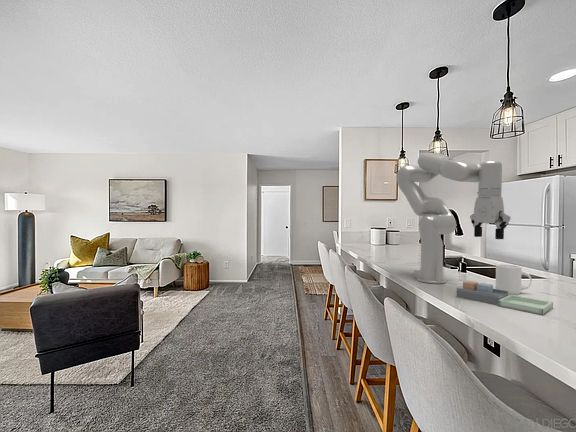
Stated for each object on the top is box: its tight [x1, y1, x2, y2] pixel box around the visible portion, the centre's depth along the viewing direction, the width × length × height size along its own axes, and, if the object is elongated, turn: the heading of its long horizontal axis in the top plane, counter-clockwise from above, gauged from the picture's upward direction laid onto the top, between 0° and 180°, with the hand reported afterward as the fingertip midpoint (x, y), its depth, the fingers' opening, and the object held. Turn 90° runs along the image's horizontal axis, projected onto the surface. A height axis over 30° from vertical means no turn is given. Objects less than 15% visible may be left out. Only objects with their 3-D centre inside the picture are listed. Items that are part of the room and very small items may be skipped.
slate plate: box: [456, 287, 509, 306], centre depth 118 cm, size 14×10×4 cm
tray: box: [497, 294, 554, 316], centre depth 108 cm, size 12×12×2 cm
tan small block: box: [462, 280, 479, 291], centre depth 121 cm, size 4×4×3 cm
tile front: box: [477, 282, 494, 293], centre depth 117 cm, size 4×4×3 cm
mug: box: [495, 263, 532, 295], centre depth 128 cm, size 9×12×11 cm
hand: (488, 237), depth 122 cm, fingers open, 9 cm apart
